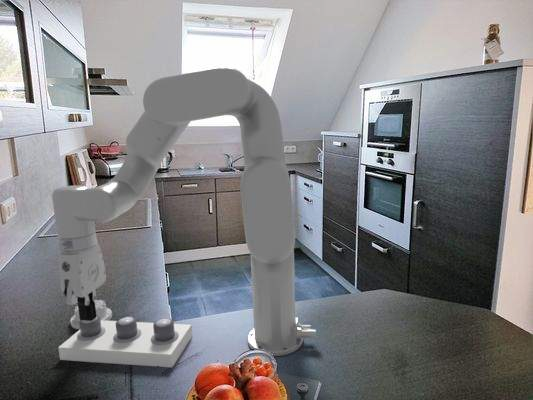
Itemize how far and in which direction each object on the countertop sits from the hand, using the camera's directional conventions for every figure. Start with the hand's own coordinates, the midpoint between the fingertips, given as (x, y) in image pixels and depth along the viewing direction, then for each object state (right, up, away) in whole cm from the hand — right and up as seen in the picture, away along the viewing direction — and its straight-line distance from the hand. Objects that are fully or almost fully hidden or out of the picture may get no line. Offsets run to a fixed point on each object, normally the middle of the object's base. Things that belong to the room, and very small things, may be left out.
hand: (88, 318), depth 88 cm
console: (+9, -7, 0) cm, 11 cm away
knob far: (0, -3, +1) cm, 3 cm away
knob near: (+18, -3, -2) cm, 19 cm away
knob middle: (+9, -3, -1) cm, 10 cm away
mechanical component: (-5, -5, +14) cm, 15 cm away
